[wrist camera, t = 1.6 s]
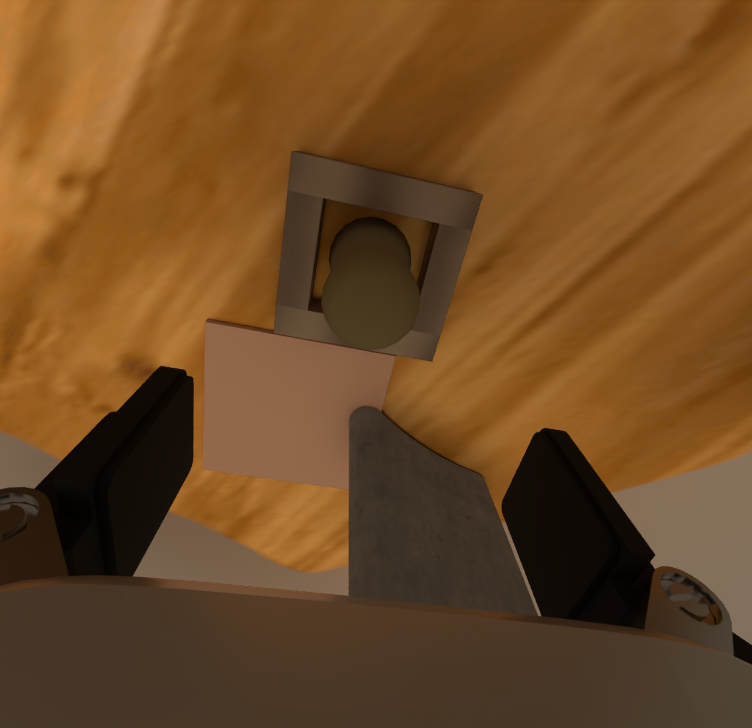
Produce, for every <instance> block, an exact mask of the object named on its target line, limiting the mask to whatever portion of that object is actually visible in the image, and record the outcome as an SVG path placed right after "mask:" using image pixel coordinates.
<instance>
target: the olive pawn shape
mask: <svg viewBox="0 0 752 728" xmlns="http://www.w3.org/2000/svg"><path fill="white" fill-rule="evenodd" d="M329 263H330V268H331V272H330V274H329V276H328V278H327V280H326V282H325V284H324V287H323V293H322V302H321V304H322V308H323V313H324V317H325V320H326V321H327V323H328V325H329V327H330V328H331V330H332V332H333V333H334V334H335V335H336V336H337V337H339V338H340V339H341V340H342V341H343V342H345V343H347V344H349V345H351V346H353V347H356V348H360V349H367V350H375V349H382V348H386V347H388V346H391V345H393V344H395V343H397V342H399V341H400V340H401V339H402V338H403V337H404V336H405V335H407V334H408V333H409V331H410V329H411V328H412V326H413V324H414V323H415V321H416V319H417V315H418V311H419V307H420V296H419V288H418V286H417V284H416V281H415V279H414V277H413V275H412V273H411V271H410V267H411V252H410V246H409V244H408V242H407V240H406V238H405V236H404V234H403V233H402V232H401V231H400V230H399V229H398V228H397V227H396V226H395V225H393V224H391V223H390V222H388V221H386V220H384V219H379V218H373V217H367V218H361V219H356V220H355V221H353V222H351V223H349V224H347V225H345V226H344V227H343V228H342V229H341V230H340V232H339V233H338V234H337V235H336V236H335V239H334V241H333V243H332V245H331V247H330V256H329Z"/></svg>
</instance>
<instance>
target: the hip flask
mask: <svg viewBox="0 0 752 728" xmlns="http://www.w3.org/2000/svg"><path fill="white" fill-rule="evenodd" d="M349 596H354V597H364V598H373V599H383V600H393V601H403V602H412V603H422V604H431V605H441V606H451V607H460V608H470V609H479V610H488V611H497V612H506V613H515V614H525V615H534V616H538V614H537V612H536V609H535V607H534V604H533V601H532V599H531V596H530V594H529V591H528V589H527V586H526V584H525V581H524V579H523V576H522V574H521V571H520V569H519V566H518V564H517V561H516V559H515V556H514V553H513V551H512V548H511V546H510V544H509V541H508V538H507V536H506V533H505V531H504V528H503V526H502V523H501V520H500V518H499V515H498V513H497V510H496V508H495V505H494V503H493V500H492V498H491V495H490V493H489V490H488V488H487V485H486V482H485V480H484V478H483V476H482V475H480V474H478V473H476V472H473V471H470V470H468V469H465V468H463V467H461V466H458V465H456V464H454V463H452V462H450V461H448V460H446V459H444V458H442V457H441V456H439V455H437V454H435V453H434V452H432V451H430V450H429V449H427V448H426V447H424V446H422V445H421V444H419V443H418V442H416V441H415V440H413V439H412V438H411V437H409V436H408V435H407V434H405V433H404V432H403V431H401V430H400V429H399V428H398V427H397V426H395V425H394V424H393V423H392V422H391V421H390V420H389V419H388V418H387V417H386V416H385V415H384V414H383V413H382V412H380V411H379V410H377V409H375V408H372V407H364V408H360V409H358V410H356V411H355V412H353V413H352V415H351V416H350V419H349Z"/></svg>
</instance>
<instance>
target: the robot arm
mask: <svg viewBox="0 0 752 728" xmlns="http://www.w3.org/2000/svg"><path fill="white" fill-rule="evenodd" d="M193 412H194V382H193V377H191V376H187V373H186V371H185V370H183V369H177V368H171V367H164V366H160V367H159V368H158V369H157V370H156V371H155V372H154V373H153V374H152V375H151V376H150V377H149V378H148V379H147V380H146V381H145V382H144V383H143V384H142V386H141V387H140V388H139V389H138V390H137V391H136V392H135V393H134V394H133V395H132V396H131V397H130V398H129V399H128V400H127V401H126V402H125V403H124V404H123V406H122V407H121V408H120V409H119V410H118V411H117V412H115V411H114V412H110V413H109V414H108V415H106V416H105V417H104V418H103V419H102V420H101V421H100V422H99V423H98V424H97V425H96V426H95V427H94V428H93V429H92V430H91V431H90V432H89V433H88V434H87V435H86V436H85V437H84V439H83V440H82V441H81V442H80V443H79V444H78V445H77V446H76V447H75V448H74V449H73V450H72V451H71V452H70V453H69V454H68V455H67V456H66V457H65V458H64V459H63V460H62V461H61V462H60V463H59V464H58V465H57V466H56V467H55V468H54V469H53V470H52V471H51V472H50V473H49V474H48V475H47V476H46V477H45V478H44V480H43V481H41V483H40V484H39V485H38V486H37V487H36V488H35V489H33V488H27V487H9V488H4V489H0V728H752V645H751V644H749V643H748V642H746V641H745V640H743V639H742V638H740V637H739V636H737V635H736V634H734V633H733V632H732V623H731V619H730V616H729V613H728V611H727V609H726V608H725V606H724V604H723V603H722V602H721V601H720V599H719V598H718V597H717V596H716V595H715V594H714V593H713V592H712V591H711V590H710V589H709V588H708V587H707V586H706V585H704V584H703V583H702V582H700V581H699V580H698V579H696V578H694V577H693V576H692V575H690V574H688V573H686V572H684V571H682V570H680V569H676V568H673V567H668V566H661V567H659V568H656V569H654V567H653V566H652V564H651V563H650V561H651V560H652V559H653V557H654V556H655V554H654V552H653V551H652V550H651V548H650V547H649V545H648V544H647V543H646V542H645V540H644V538H643V537H642V536H641V534H640V533H639V532H638V530H637V529H636V528H635V526H634V525H633V523H632V522H631V520H630V519H629V518H628V516H627V515H626V514H625V512H624V511H623V509H622V508H621V507H620V505H619V504H618V502H617V501H616V500H615V498H614V497H613V496H612V494H611V493H610V491H609V490H608V489H607V487H606V486H605V484H604V483H603V482H602V480H601V479H600V478H599V476H598V475H597V473H596V472H595V471H594V469H593V468H592V466H591V465H590V464H589V462H588V461H587V460H586V458H585V457H584V455H583V454H582V453H581V451H580V450H579V448H578V447H577V446H576V444H575V443H574V442H573V440H572V439H571V437H570V436H569V435H568V433H566V432H565V431H561V430H555V429H549V428H544V429H542V430H541V431H540V432H536V433H535V434H534V436H533V437H532V440H531V442H530V444H529V446H528V448H527V450H526V452H525V454H524V456H523V458H522V461H521V463H520V465H519V467H518V469H517V471H516V473H515V475H514V477H513V479H512V482H511V484H510V486H509V488H508V490H507V492H506V494H505V496H504V498H503V501H502V513H503V516H504V519H505V522H506V524H507V527H508V529H509V532H510V535H511V537H512V540H513V542H514V545H515V547H516V550H517V553H518V555H519V558H520V561H521V563H522V566H523V569H524V571H525V574H526V576H527V579H528V582H529V584H530V587H531V589H532V592H533V595H534V597H535V600H536V603H537V605H538V607H539V610H540V613H541V616H534V615H525V614H515V613H506V612H497V611H488V610H479V609H470V608H460V607H451V606H441V605H431V604H422V603H412V602H403V601H393V600H383V599H373V598H364V597H354V596H344V595H334V594H324V593H313V592H303V591H293V590H283V589H273V588H262V587H252V586H242V585H232V584H221V583H210V582H197V581H184V580H172V579H160V578H148V577H133V575H134V573H135V571H136V569H137V567H138V566H139V564H140V562H141V560H142V558H143V556H144V554H145V553H146V551H147V549H148V547H149V545H150V543H151V542H152V540H153V538H154V536H155V534H156V533H157V531H158V529H159V527H160V525H161V523H162V522H163V520H164V518H165V516H166V514H167V512H168V511H169V509H170V507H171V505H172V503H173V501H174V499H175V498H176V496H177V494H178V492H179V490H180V488H181V487H182V485H183V483H184V481H185V479H186V477H187V476H188V474H189V472H190V470H191V467H192V463H193Z"/></svg>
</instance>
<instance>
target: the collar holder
mask: <svg viewBox="0 0 752 728" xmlns="http://www.w3.org/2000/svg"><path fill="white" fill-rule="evenodd" d="M482 197H483V195H481V194H479V193H476V192H473V191H469V190H464V189H460V188H456V187H451V186H447V185H443V184H438V183H434V182H430V181H425V180H421V179H417V178H412V177H408V176H404V175H399V174H395V173H391V172H386V171H382V170H378V169H373V168H369V167H364V166H360V165H356V164H351V163H347V162H343V161H338V160H334V159H330V158H325V157H321V156H317V155H312V154H308V153H304V152H299V151H292V153H291V163H290V173H289V183H288V193H287V203H286V213H285V223H284V233H283V243H282V253H281V263H280V273H279V283H278V293H277V303H276V313H275V323H274V333H276V334H282V335H287V336H293V337H298V338H304V339H309V340H315V341H320V342H326V343H331V344H337V345H343V346H348V347H353V346H351V345H349V344H347V343H345V342H343V341H342V340H341V339H340V338H339V337H337V336H336V335H335V334H334V333H333V332H332V330H331V328H330V327H329V325H328V323H327V321H326V320H325V317H324V313H323V308H322V304H321V302H322V301H318V300H313V299H312V295H313V287H314V280H315V273H316V266H317V259H318V252H319V245H320V238H321V231H322V224H323V217H324V209H325V202H326V199H330V200H334V201H339V202H343V203H348V204H352V205H357V206H362V207H366V208H371V209H375V210H380V211H384V212H389V213H393V214H398V215H403V216H407V217H412V218H416V219H421V220H425V221H430V222H433V224H432V228H431V232H430V236H429V240H428V244H427V247H426V251H425V255H424V259H423V263H422V267H421V271H420V274H419V278H418V282H417V286H418V288H419V296H420V307H419V311H418V315H417V319H416V321H415V323H414V324H413V326H412V328H411V329H410V331H409V333H408V334H407V335H405V336H404V337H403V338H402V339H401V340H400V341H399V342H397V343H395V344H393V345H391V346H388V347H386V348H382V349H375V350H370V351H376V352H381V353H387V354H392V355H398V356H403V357H409V358H414V359H420V360H425V361H431V362H432V361H433V357H434V354H435V351H436V347H437V344H438V341H439V338H440V334H441V331H442V328H443V324H444V321H445V318H446V315H447V311H448V308H449V305H450V302H451V298H452V295H453V292H454V288H455V285H456V282H457V279H458V275H459V272H460V269H461V265H462V262H463V259H464V256H465V252H466V249H467V246H468V243H469V239H470V236H471V233H472V229H473V226H474V223H475V220H476V216H477V213H478V210H479V206H480V203H481V200H482ZM354 348H356V347H354ZM359 349H360V348H359ZM365 350H367V349H365Z"/></svg>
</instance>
